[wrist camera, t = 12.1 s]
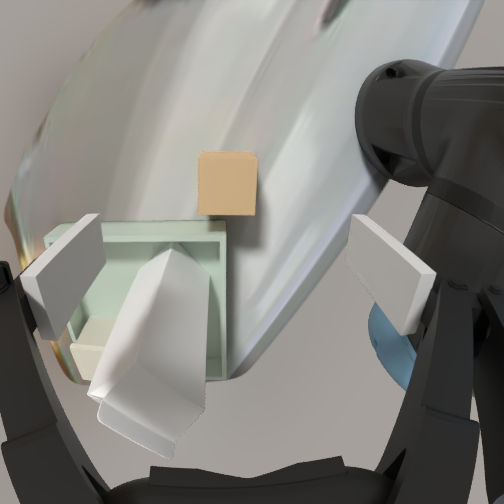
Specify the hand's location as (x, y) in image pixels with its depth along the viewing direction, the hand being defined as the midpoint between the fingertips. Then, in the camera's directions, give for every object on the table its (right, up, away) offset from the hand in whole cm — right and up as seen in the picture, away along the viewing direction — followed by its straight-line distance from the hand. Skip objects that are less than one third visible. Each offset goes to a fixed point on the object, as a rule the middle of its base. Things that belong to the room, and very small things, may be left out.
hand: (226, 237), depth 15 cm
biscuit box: (-1, +7, +16) cm, 18 cm away
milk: (-8, -3, +20) cm, 21 cm away
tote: (-12, -6, +21) cm, 25 cm away
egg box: (-17, -12, +22) cm, 30 cm away
